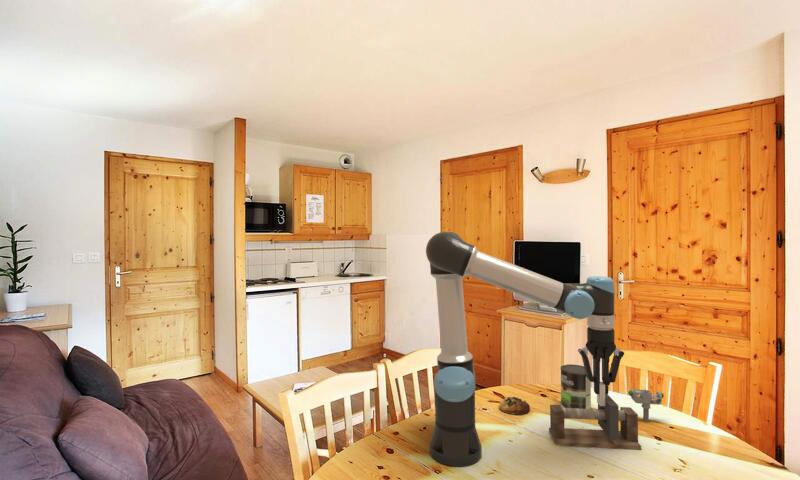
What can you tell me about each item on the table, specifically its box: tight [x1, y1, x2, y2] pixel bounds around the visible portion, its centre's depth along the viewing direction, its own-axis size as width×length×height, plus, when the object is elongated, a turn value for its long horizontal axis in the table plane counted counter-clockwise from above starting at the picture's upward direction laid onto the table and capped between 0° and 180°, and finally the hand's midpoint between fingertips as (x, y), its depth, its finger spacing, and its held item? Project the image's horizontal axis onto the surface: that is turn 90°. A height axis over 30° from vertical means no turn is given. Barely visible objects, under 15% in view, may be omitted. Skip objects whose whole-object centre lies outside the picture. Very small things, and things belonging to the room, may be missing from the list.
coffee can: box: [560, 364, 592, 409], centre depth 149 cm, size 10×10×14 cm
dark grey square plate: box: [597, 393, 620, 439], centre depth 125 cm, size 2×10×10 cm, turn 173°
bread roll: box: [498, 396, 531, 416], centre depth 149 cm, size 11×11×5 cm
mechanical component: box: [628, 388, 665, 423], centre depth 138 cm, size 3×10×10 cm, turn 79°
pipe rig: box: [548, 404, 642, 451], centre depth 126 cm, size 24×9×10 cm, turn 83°
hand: (601, 404), depth 125 cm, fingers closed
